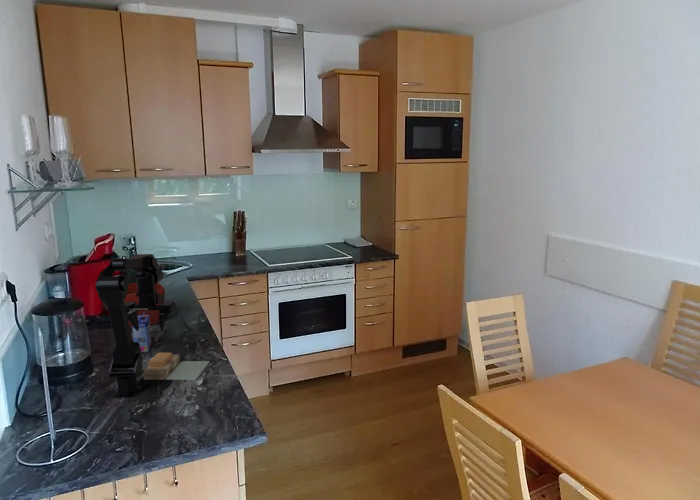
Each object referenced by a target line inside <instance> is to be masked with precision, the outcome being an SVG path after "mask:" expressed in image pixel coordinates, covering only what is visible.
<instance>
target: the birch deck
mask: <svg viewBox="0 0 700 500" xmlns="http://www.w3.org/2000/svg"><path fill="white" fill-rule="evenodd" d="M180 362H181V355H180V354H178V353H177V354H173V353H172V359H171V360H170V361H169V362H168V363H167V364H166V365H165V366H164V367H163V368H153V367H149V365H148V366H147V367H146V368H145V369H144V370H142V372H143V379H144V380H155V381H156V380H160V381H161V380H166V378H167V377H168V376H169V374H170V373H171V372H172V371H173V370H174V369H175V368H176V367H177V366H178V364H179V363H180Z"/></svg>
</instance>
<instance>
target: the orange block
mask: <svg viewBox="0 0 700 500" xmlns="http://www.w3.org/2000/svg"><path fill="white" fill-rule="evenodd" d="M172 354H173V353H172V352H158V353H156V354H155V355H154V356H153V357H152V358H151V359H150V360H149V361H148V362H147V363H148V364H147V365H148V366H149V367H153V368H163V367H164V366H165V365H166V364H167V363H168V362H169V361H170V360H171V359H172Z"/></svg>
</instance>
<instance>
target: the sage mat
mask: <svg viewBox="0 0 700 500" xmlns="http://www.w3.org/2000/svg"><path fill="white" fill-rule="evenodd" d="M209 364H210V361H208V360H207V361H206V360H200V361H199V360H195V361H194V360H180V363H179V364H178V365H177V366H176V367H175V369H174V370H173V371H172V372H171V373H170V374H169V375H168V376H167V377H166V378H165V380H169V381H171V380H172V381H174V380H175V381H177V380H178V381H181V380H182V381H187V380H188V381H196V380H197V379H198V378H199V377H200V375H202V373H203V372H204V371H205V369H206V368H207V367H208V365H209Z"/></svg>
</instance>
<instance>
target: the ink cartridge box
mask: <svg viewBox="0 0 700 500" xmlns="http://www.w3.org/2000/svg"><path fill="white" fill-rule="evenodd" d="M144 313H145V312H144ZM144 313H143V315H139V316H138V324H139V330H138V331H136V330H135V328H134V327H133V325H132V328H133V329H132V341H133V342H138V343H139V344H140V350H141V353H147V352H149V351H150V348H151V346H152V333H151V326H150V316H149V315H144Z"/></svg>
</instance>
